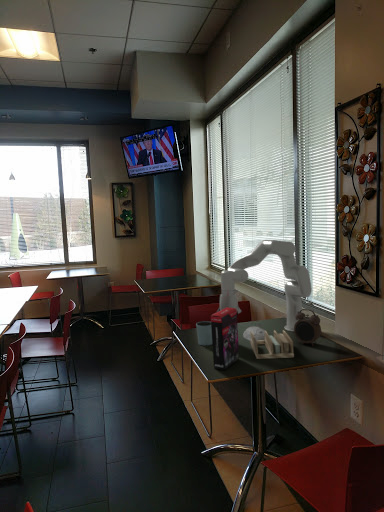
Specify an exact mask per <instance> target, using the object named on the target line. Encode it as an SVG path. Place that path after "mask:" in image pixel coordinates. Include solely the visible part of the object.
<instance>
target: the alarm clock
mask: <svg viewBox="0 0 384 512" xmlns="http://www.w3.org/2000/svg"><path fill="white" fill-rule="evenodd" d="M301 311H302V313H301ZM301 311H300V312H298V314H296V320H298V321H297V322H296V323H295V325H294V335H295V338H297V339H298V342H297V343H299V344H300V342H301V343H304V344H311V345H312V347H315V346H314V343H315V344H317V342H316V341H317V340H318V339H319V338H320V337H321V335H322V327H321V325H320V323H321V319H320V317H319V314H317V315H316V313H315V312H314V310H312V309H309V308H302V310H301ZM303 311H308V312H312V314H313V315H311V316H310V315H309V314H305V313H304V312H303Z"/></svg>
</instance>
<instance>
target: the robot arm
mask: <svg viewBox="0 0 384 512" xmlns="http://www.w3.org/2000/svg"><path fill="white" fill-rule="evenodd" d="M295 252H296V245H295V243H294V242H292V241H285V240H277V239H263V240H261V241H260V242H259V243H258V244H257V245H256V246H255V247H254V248H253V249H252V250H251V251H249V253H248V254H246V255H244V256H243V257H241V258H238V259H237V260H235V261H234V262H233V263H232V264H231V265H230V266H228V268H227V270H226V269H225V270H222V271H221V272H220V286H221V288H220V289H221V290H220V291H221V294H219V307H218V309H217V311H216V312H218V311H220V310H222V309H224V308H226V307H228V308H235V309H237V316H238V315H239V314H241V313H242V309H240V307H239V303H238V296H237V294H236V293H238V289H236V285H235V283H245V282H246V281H247V280H248V279H249V273H248V271H247V270H246V269H249V268H253V267H256V266H259V265H261V263H262V262H263V261H264V260H265V259H266V258H267V256H269V255H275V256H278V258H279V259H280V261H281V265H282V270H283V271H282V272H283V274H284V277H285V278H286V279H287V280H288V281H286V282H285V284H284V293H285V299H286V300H285V301H286V325H284V331H285V330H286V331H288V332H294V325H295V323H296V322H297V321H298V320H296V314H298V312H300V311H301V310H302V309H303V302H302V298H309V297H310V296H311V294H312V292H313V291H312V282H311V277H310V272H309V270H308V268H307V267H305V266H304V265H298V264H297V260H296V257H295ZM301 313H303V310H302V311H301Z"/></svg>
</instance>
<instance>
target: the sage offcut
mask: <svg viewBox="0 0 384 512" xmlns="http://www.w3.org/2000/svg"><path fill="white" fill-rule="evenodd" d="M268 335H269V334H268ZM269 337H270V338H271V340H272V342H273V354H279V353H280V344H279V343H278V342H277V341H276V340H275V339H274V335H272V334H271V335H269Z"/></svg>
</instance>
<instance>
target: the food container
mask: <svg viewBox="0 0 384 512" xmlns="http://www.w3.org/2000/svg"><path fill="white" fill-rule="evenodd" d="M251 331H252V332H253V335H254V337H255V339H256V341H260V340H265V331H266V330H265V329H264V328H261V327H260V326H254V325H252V326H249V327H247V328H246V329H245V330H244V332H243V333H242V337H243V338H244V339H245V340H247V341H249V342H251Z"/></svg>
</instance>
